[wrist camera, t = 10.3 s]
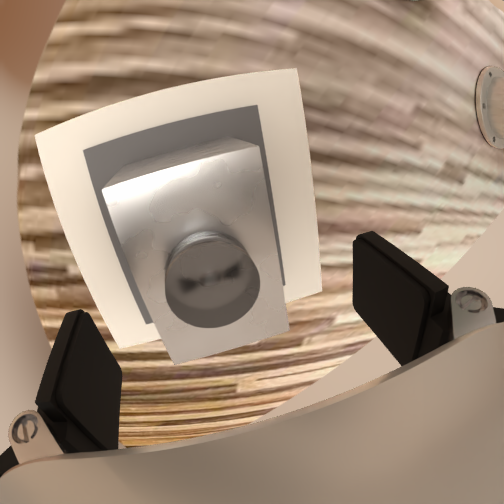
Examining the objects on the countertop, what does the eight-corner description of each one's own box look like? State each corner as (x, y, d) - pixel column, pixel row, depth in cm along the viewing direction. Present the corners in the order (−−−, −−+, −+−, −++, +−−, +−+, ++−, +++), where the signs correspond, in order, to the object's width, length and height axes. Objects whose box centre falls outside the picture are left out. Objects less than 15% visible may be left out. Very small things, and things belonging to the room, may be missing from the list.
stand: (259, 80, 23) (300, 66, 15) (286, 249, 30) (325, 295, 23) (72, 128, 20) (30, 136, 13) (127, 293, 28) (119, 353, 20)
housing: (229, 136, 16) (270, 149, 10) (257, 274, 20) (299, 348, 14) (123, 165, 15) (93, 199, 9) (169, 299, 19) (176, 385, 13)
